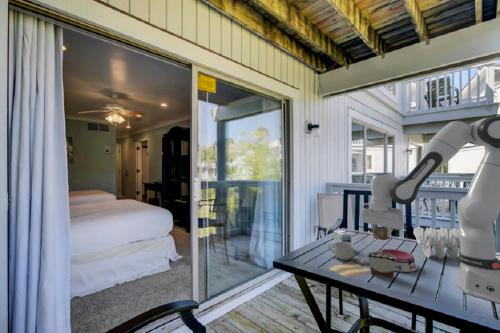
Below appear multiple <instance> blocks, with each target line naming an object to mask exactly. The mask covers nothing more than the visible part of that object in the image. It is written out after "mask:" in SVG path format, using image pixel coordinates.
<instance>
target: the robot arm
mask: <svg viewBox="0 0 500 333" xmlns="http://www.w3.org/2000/svg"><path fill="white" fill-rule="evenodd" d="M467 144H471V145H474V146H483V147H484V154H483V157H482V159H481V160H480V163H479V165H478V167H477V169H476V171H475V173H474V175H473V177H472V178H471V183H470V185H469V189H468V191H467V193H466V195H465V196H463V197H461V198H460V200H459V201H458V203H457V218H458V229H459V230H460V252H459V251H458V252H459V253H458V261H459V273H458V277H457V280H456V286H457V287H459V288H460V289H461V290H462V291H463V292H464V293H465V294H467V295H469V296H474V297H477V298H480V299H484V300H486V301H489V302H494V303H497V304H500V259H498V258H497V253H496V247H497V244H496V236H495V232H494V226H493V223H495V222H496V221H497V219H498V217H499V214H500V116H499V115H498V116H496V115H495V116H490V117H485V118H481V119H479V120H476V121H473V122H471V123H469V124H467V123H465V122H464V121H459V120H456V121H455V120H454V121H450V122H448V123H447V124H446V125H445V126H443V127H442V128H441V129H440V130H438V132H436V134H434V136H433V137H432V138H431V139H430V140H429V141H428V142H427V144H426V145H425V146H424V148H423V150H422V153H421V157H420V159H419V162H418V163H417V164H416V165H415V167H414V168H413V169H412V170H411V171H410V172H409V173H408V174H407V175H406V177H404V178H403V179H402V178H398V177H396V176H394V175H391V173H389V172H382V173H378V174H377V173H376V174H375V175H372V178H371V182H370V192H371V193H370V194H371V199H370V202H367V203H362V205H361V207H362V210H361V221H362V222H363V223H366V224H370V226H371V229H372V233H373V234H374V227H377V226H378V227H380V226H381V227H385V228H387V230H388V232H387V233H385V236H386V237H390V238H391V234H392V232H393V231H394V230H396V231H399V230H403V229H404V228H405V222H404V212H403V211H402V210H401V209H399V208H394V207H393V205H392V202H395V203H396V204H399V205H409V204H411V203H413V202H414V201H415V199H416V198H417V196H418V193H419V189H420V188H421V186H422V185H423V184H424V183H425V181H426V180H427V179H429V177H430V176H431V175H432V174H433V173H434V172H435V171H436V170H437V169H439V168H440V167H442V166H443V165H444V164H446V163H447V162H449V161H450V160H451V159H452V158H454V157H455V156H456V155H457V154H458V153H459V152H460V150H461V149H462V148H463V147H465V146H466V145H467Z"/></svg>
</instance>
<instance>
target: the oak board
mask: <svg viewBox="0 0 500 333" xmlns="http://www.w3.org/2000/svg"><path fill="white" fill-rule="evenodd" d="M326 269H327V270H330V271H332V272H334V273H336V274H338V275H341V277H344V278H346V279H350V278H354V277H357V276H360V275H364V274H368V273H371V269H370V268H368V267H365V266H364V265H362V264H359V263H357V262H353V261H347V262H343V263H339V264H336V265H332V266H328V267H326Z"/></svg>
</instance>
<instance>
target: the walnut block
mask: <svg viewBox="0 0 500 333" xmlns="http://www.w3.org/2000/svg"><path fill="white" fill-rule="evenodd" d="M387 232H388V230H387V227H383V226H375V227H374V233H373V239H377V240H381V241H386V240H387V241H388V240H391V236H390V237H386V236H385V233H387Z"/></svg>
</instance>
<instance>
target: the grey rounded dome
mask: <svg viewBox="0 0 500 333" xmlns="http://www.w3.org/2000/svg"><path fill="white" fill-rule="evenodd" d="M355 263H356V264H358V265H361V266H370V261H369V257H363V256H362V257H356V258H355Z"/></svg>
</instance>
